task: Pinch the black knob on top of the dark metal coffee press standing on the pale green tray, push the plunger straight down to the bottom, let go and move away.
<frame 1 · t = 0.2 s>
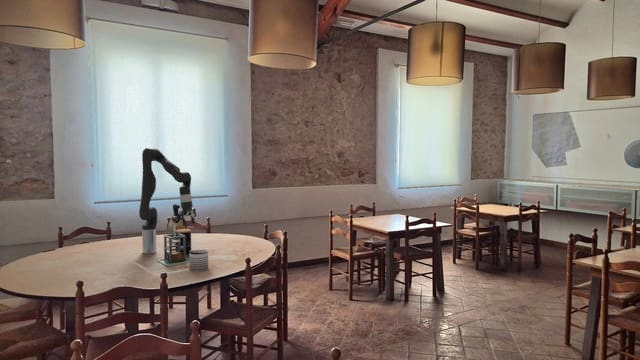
hand: (189, 224, 297), 23 cm above the table, tool pointing down, fingers open, 8 cm apart
press frame: (175, 261, 285), resting on tray
can: (199, 269, 270), on the table
coffee jar: (183, 255, 305), on the table
plunger: (174, 229, 283), point 22 cm above the table, slide at 0.0 cm
ceramic jug: (177, 240, 356), on the table
tray: (175, 262, 285), on the table
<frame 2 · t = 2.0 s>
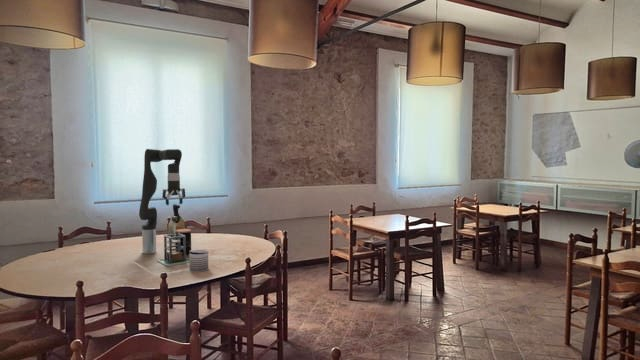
hand: (174, 204, 282), 39 cm above the table, tool pointing down, fingers open, 8 cm apart
nothing on the table moved.
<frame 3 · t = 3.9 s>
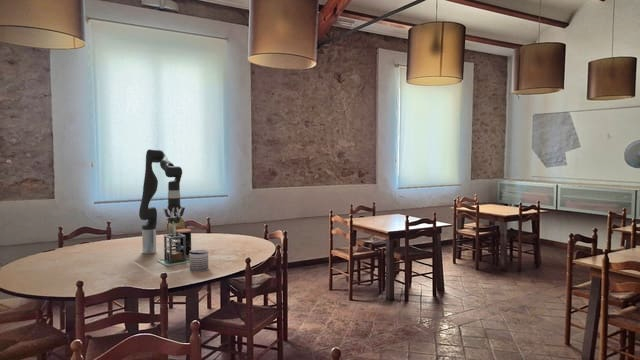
hand: (174, 223, 283), 26 cm above the table, tool pointing down, fingers closed on plunger, 3 cm apart
plunger: (174, 229, 283), point 22 cm above the table, slide at 0.0 cm, touching gripper
everything else where it was.
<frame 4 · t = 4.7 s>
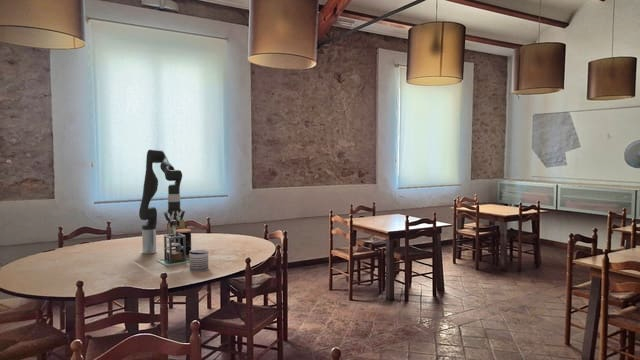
hand: (174, 226, 283), 24 cm above the table, tool pointing down, fingers closed on plunger, 3 cm apart
plunger: (174, 232, 283), point 20 cm above the table, slide at 2.4 cm, touching gripper
everything else where it was.
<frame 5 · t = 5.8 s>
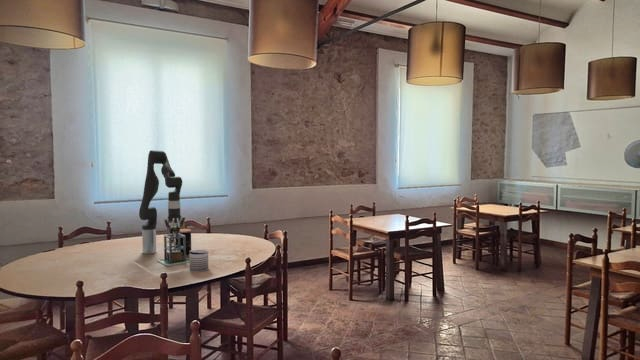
hand: (174, 233, 283), 20 cm above the table, tool pointing down, fingers closed on plunger, 3 cm apart
plunger: (174, 239, 284), point 16 cm above the table, slide at 6.8 cm, touching gripper
everything else where it was.
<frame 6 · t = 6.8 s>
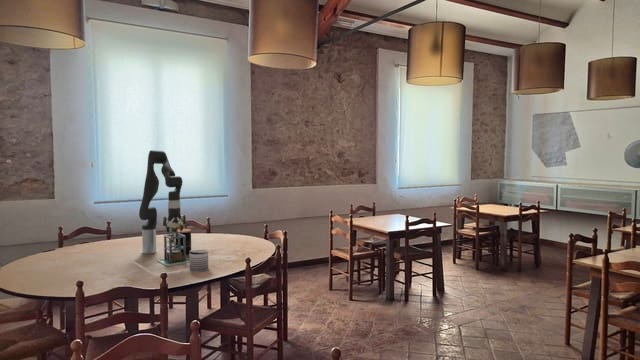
hand: (174, 231, 283), 21 cm above the table, tool pointing down, fingers open, 8 cm apart
plunger: (174, 239, 284), point 16 cm above the table, slide at 6.8 cm
everything else where it was.
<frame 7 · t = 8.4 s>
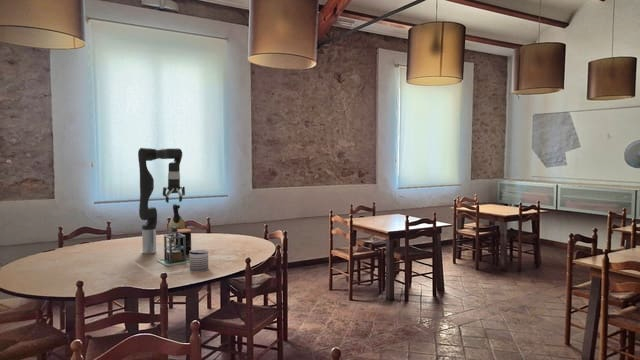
hand: (173, 202, 291), 39 cm above the table, tool pointing down, fingers open, 8 cm apart
nothing on the table moved.
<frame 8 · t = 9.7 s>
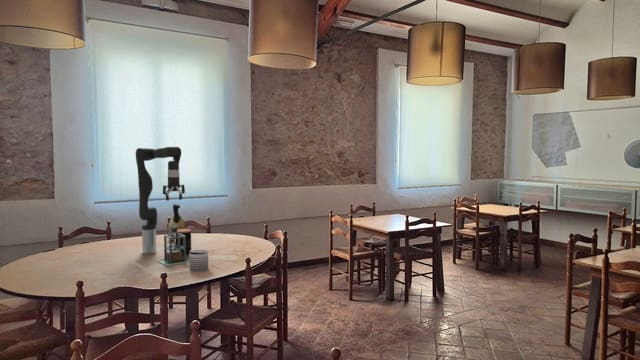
hand: (174, 200, 293), 40 cm above the table, tool pointing down, fingers open, 8 cm apart
nothing on the table moved.
at the end: plunger slide at 6.8 cm; the gripper is holding nothing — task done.
